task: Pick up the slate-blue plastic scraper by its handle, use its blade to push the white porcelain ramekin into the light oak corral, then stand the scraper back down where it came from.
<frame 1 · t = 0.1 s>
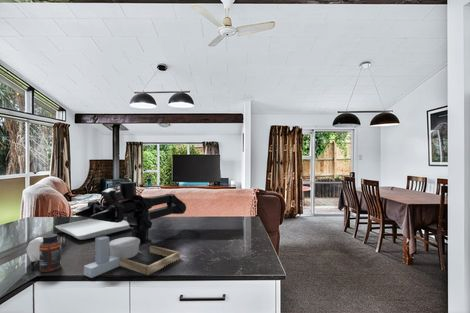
hand: (83, 215, 93), 17 cm above the kitchen island, tool horizontal, fingers open, 9 cm apart
square plate: (95, 232, 131), on the kitchen island
supplement bottle: (50, 269, 87), on the kitchen island
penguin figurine: (45, 258, 97), on the kitchen island
ramekin: (124, 255, 100), on the kitchen island
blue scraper: (102, 270, 86), on the kitchen island
oak corral: (149, 262, 93), on the kitchen island
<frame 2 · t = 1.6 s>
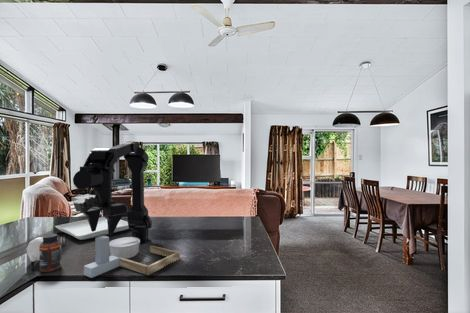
hand: (101, 233, 86), 12 cm above the kitchen island, tool pointing down, fingers open, 9 cm apart
nothing on the kitchen island moved.
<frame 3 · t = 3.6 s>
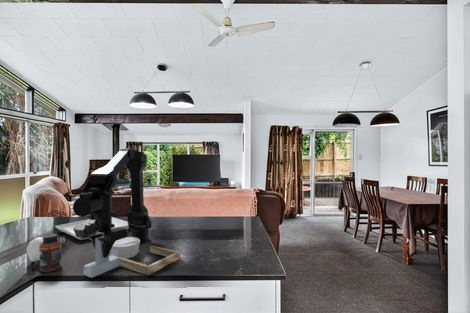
hand: (102, 256, 86), 5 cm above the kitchen island, tool pointing down, fingers closed on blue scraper, 3 cm apart
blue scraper: (102, 270, 86), on the kitchen island, touching gripper
everything else where it was.
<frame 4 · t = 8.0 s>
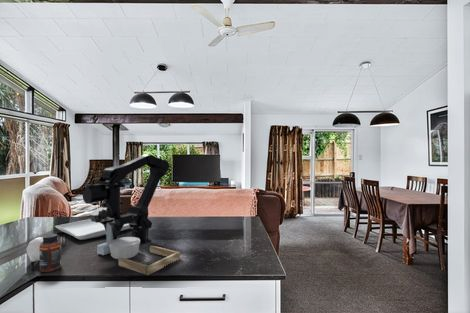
hand: (112, 238, 103), 5 cm above the kitchen island, tool pointing down, fingers closed on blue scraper, 3 cm apart
ramekin: (124, 255, 100), on the kitchen island, touching gripper
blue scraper: (112, 250, 103), on the kitchen island, touching gripper
everything else where it was.
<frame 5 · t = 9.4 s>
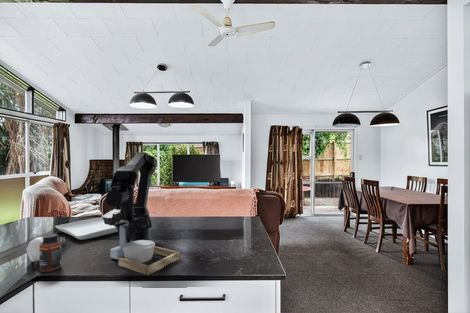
hand: (125, 242, 99), 5 cm above the kitchen island, tool pointing down, fingers closed on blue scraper, 3 cm apart
ramekin: (139, 259, 96), on the kitchen island, touching gripper
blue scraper: (125, 253, 99), on the kitchen island, touching gripper
everything else where it was.
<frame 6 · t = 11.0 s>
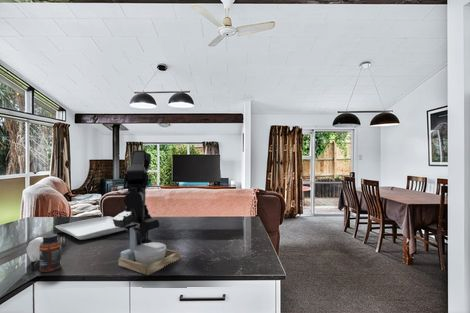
hand: (135, 244, 97), 5 cm above the kitchen island, tool pointing down, fingers closed on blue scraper, 3 cm apart
ramekin: (150, 262, 93), on the kitchen island, touching gripper
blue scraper: (135, 256, 97), on the kitchen island, touching gripper
everything else where it was.
when the fingers open (5 cm above the kitchen island, at t = 14.9 s): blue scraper stays where it is, on the kitchen island.
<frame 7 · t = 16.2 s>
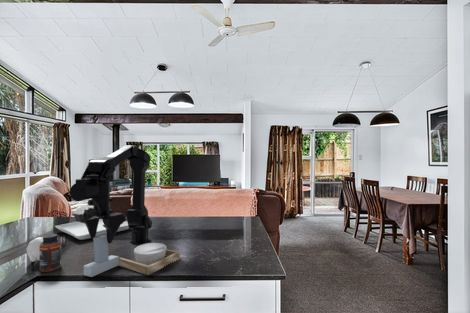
hand: (101, 240, 90), 9 cm above the kitchen island, tool pointing down, fingers open, 9 cm apart
ramekin: (150, 263, 93), on the kitchen island
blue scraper: (102, 269, 86), on the kitchen island, tilted 5°, touching gripper
everything else where it was.
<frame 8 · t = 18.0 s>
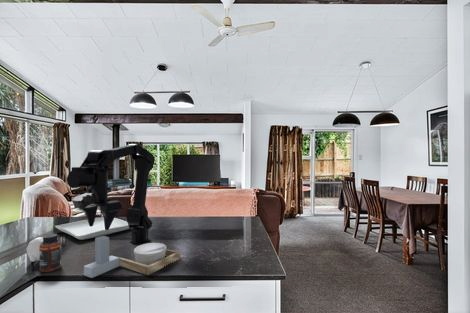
hand: (98, 228, 94), 12 cm above the kitchen island, tool pointing down, fingers open, 9 cm apart
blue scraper: (102, 270, 86), on the kitchen island
everything else where it was.
at the end: ramekin inside the target area on the oak corral (0.4 cm from its centre), point 0.0 cm above the oak corral's base; the gripper is holding nothing; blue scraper on the kitchen island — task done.
